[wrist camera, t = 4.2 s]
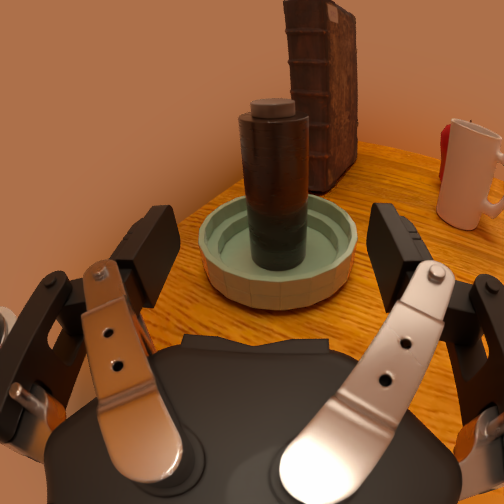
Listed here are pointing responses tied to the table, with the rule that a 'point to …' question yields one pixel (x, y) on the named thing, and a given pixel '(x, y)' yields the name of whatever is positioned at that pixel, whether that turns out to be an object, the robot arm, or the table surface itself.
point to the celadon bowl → (278, 282)
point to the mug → (469, 175)
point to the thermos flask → (276, 181)
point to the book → (324, 84)
